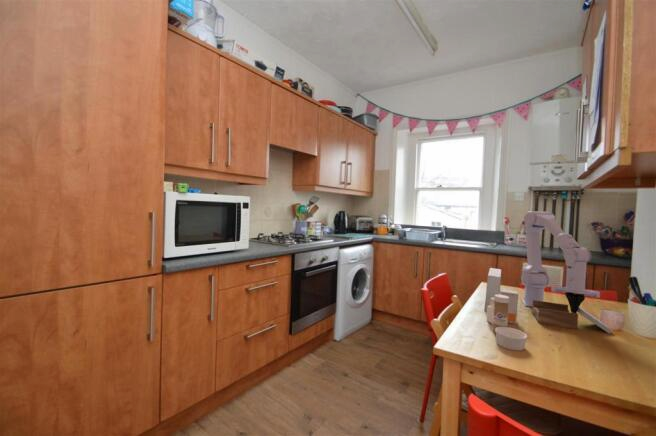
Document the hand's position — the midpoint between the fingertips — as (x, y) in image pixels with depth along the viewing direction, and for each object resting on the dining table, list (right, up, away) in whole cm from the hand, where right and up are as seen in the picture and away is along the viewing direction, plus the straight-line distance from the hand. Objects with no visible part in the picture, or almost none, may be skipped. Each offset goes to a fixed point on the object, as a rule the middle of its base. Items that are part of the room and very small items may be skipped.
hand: (573, 312), depth 115 cm
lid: (+5, -2, -2) cm, 5 cm away
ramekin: (-37, -5, -20) cm, 42 cm away
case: (-6, -4, +3) cm, 8 cm away
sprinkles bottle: (-35, -4, -11) cm, 37 cm away
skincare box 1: (-21, -4, +20) cm, 29 cm away
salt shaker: (-32, -4, -1) cm, 32 cm away
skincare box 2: (-25, -4, +1) cm, 26 cm away
